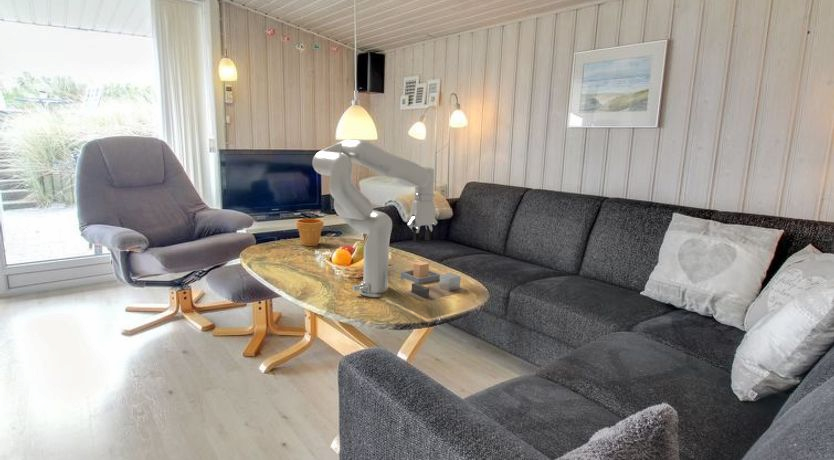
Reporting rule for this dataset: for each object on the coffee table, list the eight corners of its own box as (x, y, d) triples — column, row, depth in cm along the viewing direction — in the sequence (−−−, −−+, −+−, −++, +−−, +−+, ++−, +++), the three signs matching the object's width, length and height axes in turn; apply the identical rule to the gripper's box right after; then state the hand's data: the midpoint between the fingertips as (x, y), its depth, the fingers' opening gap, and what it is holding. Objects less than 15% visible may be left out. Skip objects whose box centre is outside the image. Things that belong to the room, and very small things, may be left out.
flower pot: (292, 246, 256) (291, 222, 254) (302, 240, 270) (302, 217, 268) (317, 248, 254) (317, 223, 252) (327, 242, 268) (327, 219, 265)
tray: (418, 287, 195) (418, 279, 195) (400, 279, 204) (400, 271, 204) (440, 282, 203) (441, 274, 202) (422, 275, 212) (422, 267, 211)
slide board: (421, 305, 175) (422, 292, 174) (401, 296, 184) (402, 283, 183) (467, 294, 189) (468, 282, 188) (446, 286, 198) (447, 274, 197)
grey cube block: (448, 291, 187) (449, 278, 186) (439, 287, 191) (439, 274, 190) (460, 288, 191) (460, 276, 190) (450, 284, 195) (451, 272, 194)
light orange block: (419, 281, 200) (419, 265, 199) (413, 279, 203) (413, 263, 202) (428, 279, 204) (428, 263, 202) (422, 277, 207) (422, 261, 205)
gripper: (433, 195, 205) (432, 237, 208) (401, 197, 194) (400, 241, 198) (445, 197, 199) (443, 240, 203) (412, 200, 189) (411, 245, 192)
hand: (422, 240), depth 200 cm, fingers open, 5 cm apart
